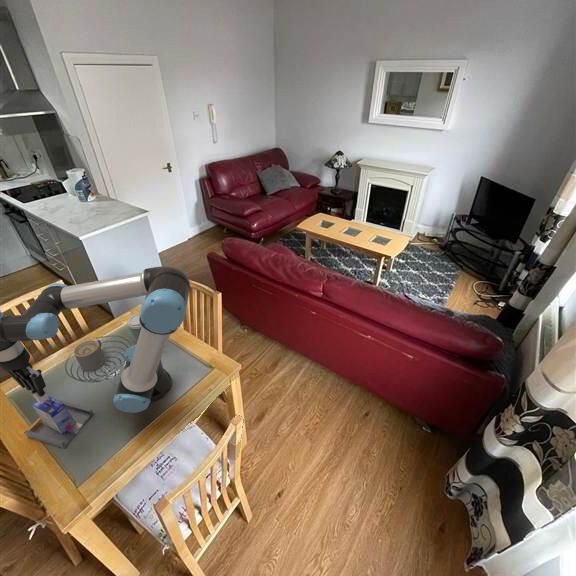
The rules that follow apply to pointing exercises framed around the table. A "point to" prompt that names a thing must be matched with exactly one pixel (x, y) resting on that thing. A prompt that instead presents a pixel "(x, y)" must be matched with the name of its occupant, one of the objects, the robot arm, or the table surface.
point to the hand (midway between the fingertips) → (43, 400)
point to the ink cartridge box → (54, 414)
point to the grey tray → (54, 437)
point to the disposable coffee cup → (135, 325)
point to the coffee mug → (90, 355)
